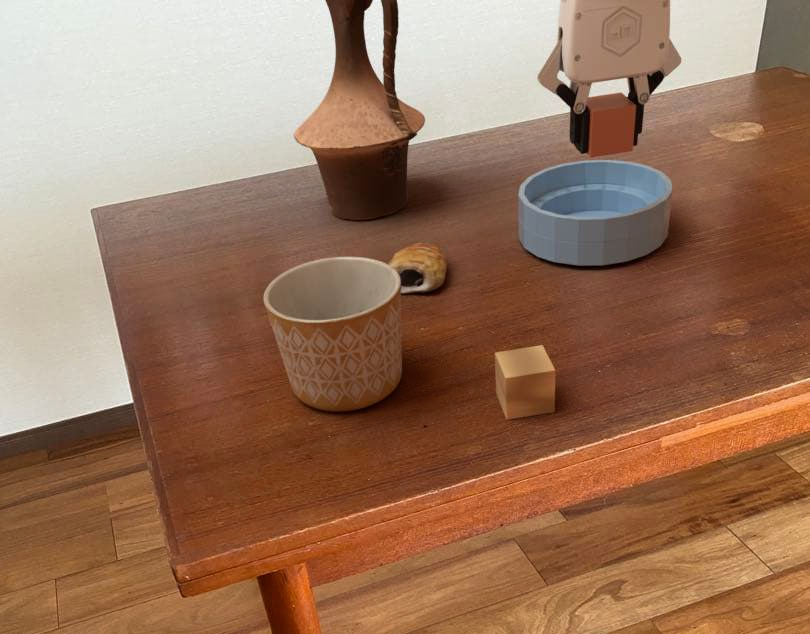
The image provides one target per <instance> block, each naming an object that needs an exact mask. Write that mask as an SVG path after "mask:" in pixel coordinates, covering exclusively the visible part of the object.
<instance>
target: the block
mask: <svg viewBox="0 0 810 634" xmlns="http://www.w3.org/2000/svg"><path fill="white" fill-rule="evenodd" d="M494 369H495V370H494V371H495V372H494V373H495V394H496V397H497V399H498V402H499V404H500V407H501V410H502V412H503V414H504V417H505V420H506V421H510V420H515V419H522V418H527V417H535V416H540V415H546V414H551V413H555V407H556V369H555V367H554V365H553V362H552V361H551V358H550V357H549V355H548V353H547V351H546V349H545V346H544V345H543V344H539V345H534V346H528V347H523V348H514V349H509V350H503V351H502V350H501V351H497V352H494Z"/></svg>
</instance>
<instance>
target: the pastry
mask: <svg viewBox="0 0 810 634" xmlns="http://www.w3.org/2000/svg"><path fill="white" fill-rule="evenodd" d="M387 264H388V265H390V266H391V267H392V268H394V269H395V270H396V271H397V273H398V274H399V276H400V279H401V295H407V294H413V293H428V292H431V291H436V290H437V289H438V288H439V287H441V286H442V285H443V284H444V282H445V279H446V272H447V268H448V266H447V265H448V264H447V259H446V257H445V254H444V253H443V250H442V249H441V248H440V246H439V245H436V244H432V243H431V244H430V243H426V242H416V243H414V244H412V245H410V246H406V247H405V248H403V249H400V250H399V251H396V252H395V253H394V255H393V257H392V259H390V260H389V261H388V263H387Z"/></svg>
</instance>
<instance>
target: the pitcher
mask: <svg viewBox="0 0 810 634" xmlns="http://www.w3.org/2000/svg"><path fill="white" fill-rule="evenodd" d="M324 1H325V4H326V5H327V8H328V11H329V14H330V18H331V19H330V20H331V23H332V29H333V34H334V35H333V36H334V44H335V45H334V46H335V58H334V59H335V61H334V68H333V73H332V76H331V77H332V78H331V80H330V84H329V87H328V89H327V92H326V94H325V96H324V98H322V101H321V102H320V104H319V105H318V106H317V107H316V109H314V111H313V112H312V113H311V114H310V115H309V116H308V117H307V118H306V119H305V120H304V121H303V122H302V124H300V125H299V126H298V127H297V128H296V130H295V131H294V134H293V137H294V140H295V141H296V143H298V144H299V145H301V146H303V147H305V148H308V149H310V150H311V151H312V153H313V156H314V158H315V160H316V163H317V167H318V170H319V173H320V178H321V179H322V182H323V186H324V190H325V193H326V197H327V202H328V207H329V211H330V213H331V214H332V215H334V216H335V217H337V218H340V219H346V220H355V221H356V220H357V221H358V220H369V219H376V218H378V217H383V216H387V215H391V214H393V213H396V212H397V211H399V210H401V209H403V208H404V207H405V206H406V205H407V203H408V201H409V194H408V155H409V154H408V152H409V144H410V141H411V140H413V139H414V138H415V137H416V136H418V132H419V131H420V130H421V129H422V128H423V127H424V125H425V123H426V118H425V117H426V116H425V115H424V114H423V113H422V112H421V111H420V110H419V109H416V108H415V107H412V106H410V105H409V104H407V103H405V102H404V101H402V99H399V98H398V95H397V91H396V79H395V78H396V75H395V74H396V73H395V67H396V58H397V53H396V50H397V43H398V35H399V21H400V20H399V19H400V18H399V3H398V0H380V2H381V8H382V23H383V24H382V25H383V28H382V30H383V38H382V45H383V49H382V54H383V55H382V69H383V70H382V74H383V76H382V79H383V82H382V81H381V80H380V78H379V77H378V75H377V73H376V72H375V69H374V67H373V66H372V63H371V61H370V57H369V55H368V54H369V53H368V49H367V44H366V43H367V42H366V36H365V35H366V34H365V14H366V11H367V10H368V9H370V7H372V3H373V1H374V0H324Z"/></svg>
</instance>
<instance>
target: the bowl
mask: <svg viewBox="0 0 810 634" xmlns="http://www.w3.org/2000/svg"><path fill="white" fill-rule="evenodd" d="M673 191H674V190H673V182H672V180H671V178H669V177H668V176H667V174H665V172H663V171H661V170H659V169H656V168H654V167H652V166H649V165H647V164H643V163H638V162H633V161H629V160H628V161H627V160H617V159H587V160H578V161H571V162H566V163H561V164H557V165H553V166H549V167H545V168H544V169H542V170H539V171H537V172H535V173H533V174H532V175H529V176H528V177H527V178H526V179H525V180H524V181H523V182H522V183H521V184H520V185H519V190H518V194H517V196H518V197H517V199H518V201H517V204H518V206H517V207H518V209H517V211H518V240H519V241H520V243H521V245H522V247H523V248H524V249H525V250H526V251H528V252H529V253H530V254H532V255H533V256H536V257H537V258H540V259H543V260H546V261H548V262H549V261H550V262H552V263H557V264H558V263H559V264H563V265H565V264H566V265H570V266H571V265H572V266H580V267H582V266H583V267H584V266H606V265H607V266H609V265H614V264H619V263H626V262H630V261H632V260H635V259H638V258H642V257H644V256H647V255H649V254H651V253H652V252H654V251H655V250H657V249H658V248H660V247H662V245H663V244H664V242H665V240H666V239H667V238H668V235H669V228H670V218H671V208H672V199H673Z"/></svg>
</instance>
